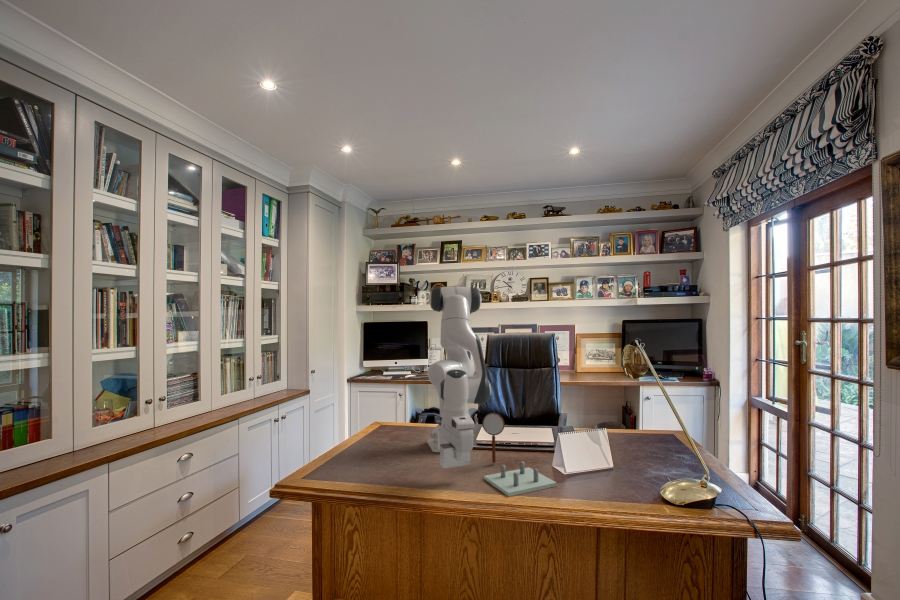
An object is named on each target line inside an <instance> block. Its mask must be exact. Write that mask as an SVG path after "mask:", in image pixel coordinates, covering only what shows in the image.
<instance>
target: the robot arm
mask: <svg viewBox="0 0 900 600" xmlns="http://www.w3.org/2000/svg"><path fill="white" fill-rule="evenodd" d="M428 297H429V298H428V303H429V306H430V309H432V311H434V312H439V313H440V312H442V313H441V321H440V341H439V343H440V346H441V347H442V349H444V351H445V353H446V358H447V359H442V360H438V361H436V362H433V363H432V364H431V365H429V367H428V369H427V377H428V380H429V382H430V383H431V384H432V386H434V388H435V389H436V391H437V394H438V399H439V415H438V421H437V423H438V424H437V425H436V427H434V428H433V430H432V432H431V433H430V438H431V439H428V440H427V441H426V444H427V445H428V446H429V448H430V450H431V451H432V452H433V453H440V444H448V443H450V444H452V445H453V446H454V447H455V448H456V451H457V452H456V454H455V459H456V460H457V461H459V460H461V455H462V453H468V452H470V453H471V452H472V451H473V447H474V430H473V429H474V428H475V422H474V420H473V419H472V416H471V415H470V413H469V411H470V410H469V405H468V404H475V405H484V404H486V403H487V402H488V401H489V400H490V399H491V395H492V387H491V384H490V381H489V377H488V372H487V367H486V362H485V357H484V351H483V347H482V341H481V339H480V337H479V335H477V334H476V333H475V332H474V331H473V329H472V326H471V324H472V323H471V315H472V313H476V312H477V311H478V310H479V309H480V307H481V304H482V302H483V298H482V294H481V291H480V289H478V288H477V287H473V286H471V287H468V286H467V287H466V286H460V285H456V286H435V287H433V288H432V289H431V291H430V293H429V295H428ZM468 352H469V354H470V355H471V356H472V360H473V361H472V360H471V359H470V357H469V355H468ZM474 375H475V376H474Z"/></svg>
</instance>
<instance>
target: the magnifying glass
mask: <svg viewBox="0 0 900 600" xmlns="http://www.w3.org/2000/svg"><path fill="white" fill-rule="evenodd" d="M481 425H482V428H483V431H485V432H486V433H487V434H488V435H489V436H491V448H492V449H491V452H492V453H491V454H492V455H491V456H492V457H491V460H492V465H493V466H495V465H496V462H497V461H496V436H498V435H500V434H501V433H502V432H503V431H504V429H505V420H504V418H503V417H502V415H500V414H499V413H497V412H489V413H487V414H486V415H484V416H483V419H482V424H481Z"/></svg>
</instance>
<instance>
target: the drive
mask: <svg viewBox="0 0 900 600" xmlns="http://www.w3.org/2000/svg"><path fill="white" fill-rule="evenodd" d="M456 452H457V451H456V448H455V447H454V446H453V445H452V444H450V443H448V444H440V452H439V466H441V467H442V468H443V469H448V468H456V467H463V466H469V465H471V452H468V453H462V455H461V460H459V461H457V460H456V459H455V454H456Z"/></svg>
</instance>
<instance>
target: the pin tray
mask: <svg viewBox="0 0 900 600" xmlns="http://www.w3.org/2000/svg"><path fill="white" fill-rule="evenodd" d="M483 480H484V481H486V482H487V483H489V484H490V485H491V486H493V487H494V488H496V490H498V491H500V492H501V493H503V494H504V495H505V496H507V497H508V496H509V497H513V496H518V495H523V494H528V493H531V492H535V491H540V490H544V489H550V488H553V487H557V481H555V480H553V479H552V478H549V477H547V476H546V475H543V474H542V473H540V472H539V469H538V468H537V467H536V468H535V467H534V468H531V467H525V461H522V460H521V461H519V469H513V470H507V471H506V464H501V465H500V472H497V473H491V474H486V475H483Z"/></svg>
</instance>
